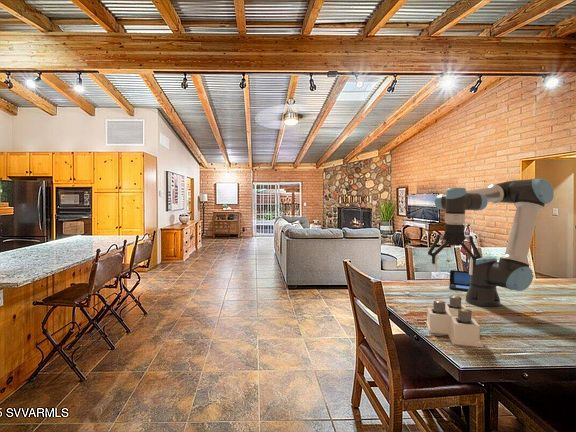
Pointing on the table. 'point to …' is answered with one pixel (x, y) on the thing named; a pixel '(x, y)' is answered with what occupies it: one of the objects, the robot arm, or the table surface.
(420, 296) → the table surface
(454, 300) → the knob
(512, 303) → the table surface
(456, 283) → the handheld game console
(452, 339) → the knob panel
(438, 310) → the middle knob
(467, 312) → the knob
